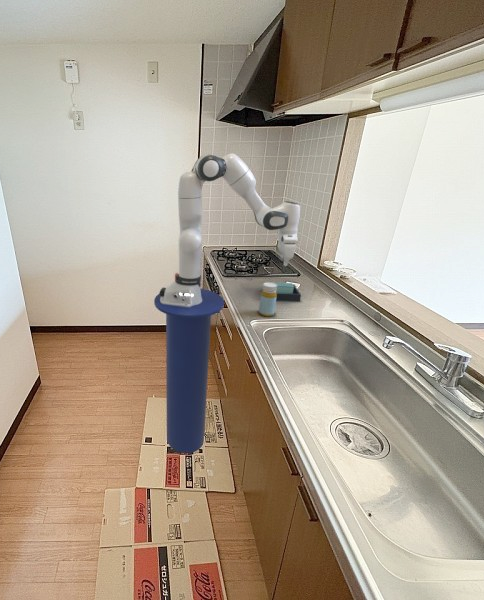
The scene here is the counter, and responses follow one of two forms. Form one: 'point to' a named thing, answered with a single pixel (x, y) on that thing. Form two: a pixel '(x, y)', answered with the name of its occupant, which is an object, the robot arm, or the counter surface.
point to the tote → (289, 296)
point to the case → (285, 288)
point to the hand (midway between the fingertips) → (283, 262)
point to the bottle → (268, 299)
